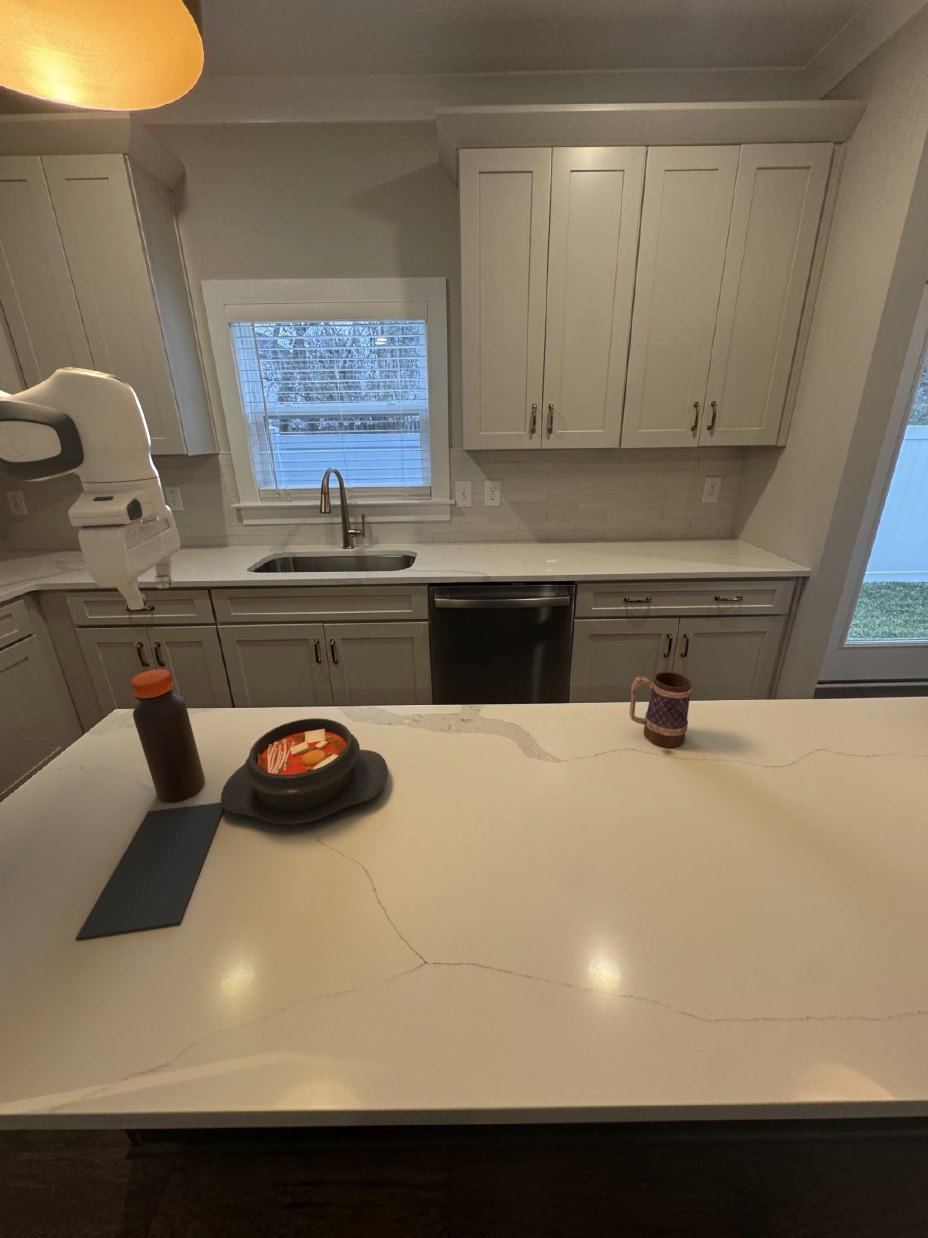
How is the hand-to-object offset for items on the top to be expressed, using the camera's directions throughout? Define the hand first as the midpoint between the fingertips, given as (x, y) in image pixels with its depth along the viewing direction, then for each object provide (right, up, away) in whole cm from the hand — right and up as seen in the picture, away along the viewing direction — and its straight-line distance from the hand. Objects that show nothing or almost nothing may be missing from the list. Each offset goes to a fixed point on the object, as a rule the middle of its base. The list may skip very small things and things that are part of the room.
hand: (152, 596), depth 74 cm
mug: (+80, -25, +17) cm, 85 cm away
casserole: (+21, -30, +6) cm, 37 cm away
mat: (+6, -35, -7) cm, 37 cm away
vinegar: (+1, -30, +6) cm, 31 cm away
